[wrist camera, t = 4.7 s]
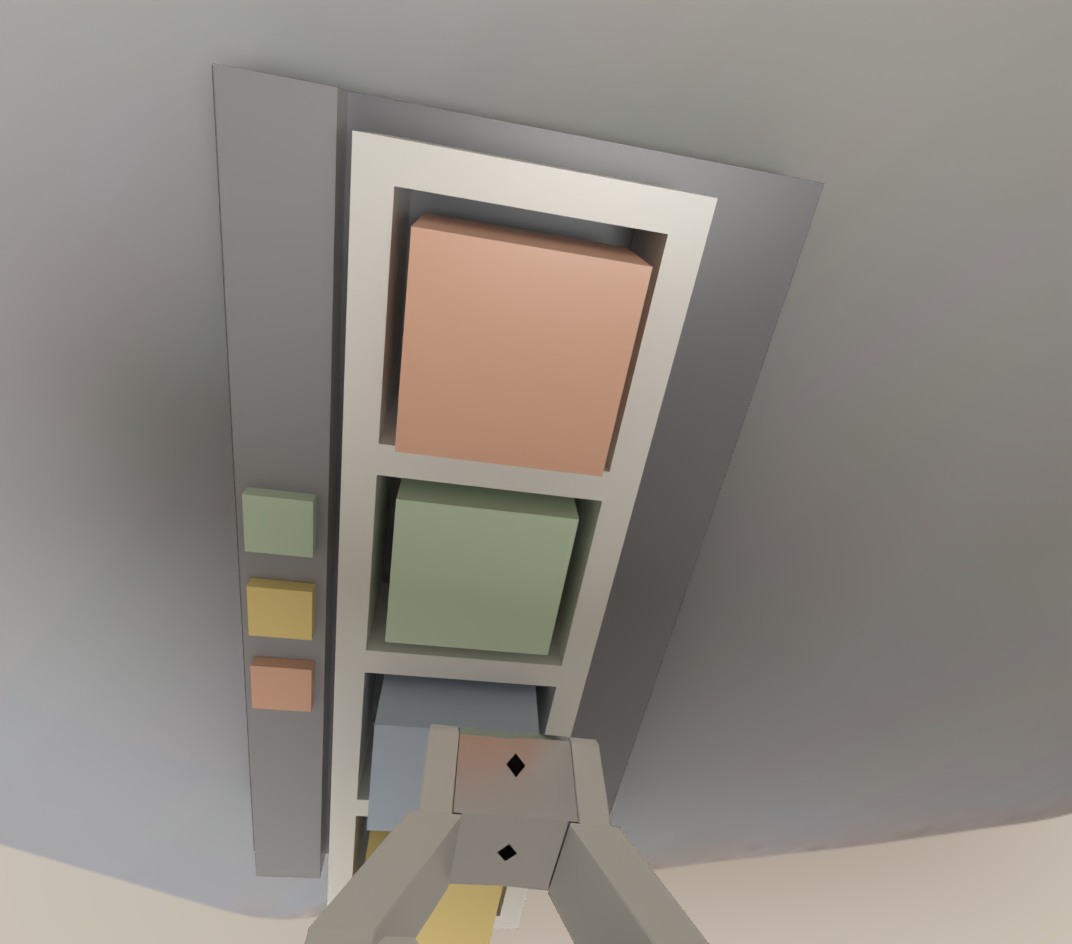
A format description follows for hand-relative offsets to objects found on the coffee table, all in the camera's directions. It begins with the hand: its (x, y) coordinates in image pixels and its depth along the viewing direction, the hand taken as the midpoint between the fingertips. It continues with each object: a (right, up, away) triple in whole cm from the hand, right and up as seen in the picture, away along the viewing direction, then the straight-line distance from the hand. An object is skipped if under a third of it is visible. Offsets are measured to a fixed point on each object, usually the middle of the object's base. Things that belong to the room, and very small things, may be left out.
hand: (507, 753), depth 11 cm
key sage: (-1, +3, +7) cm, 8 cm away
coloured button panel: (-2, +2, +11) cm, 11 cm away
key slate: (-2, -3, +9) cm, 9 cm away
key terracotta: (0, +8, +3) cm, 9 cm away
